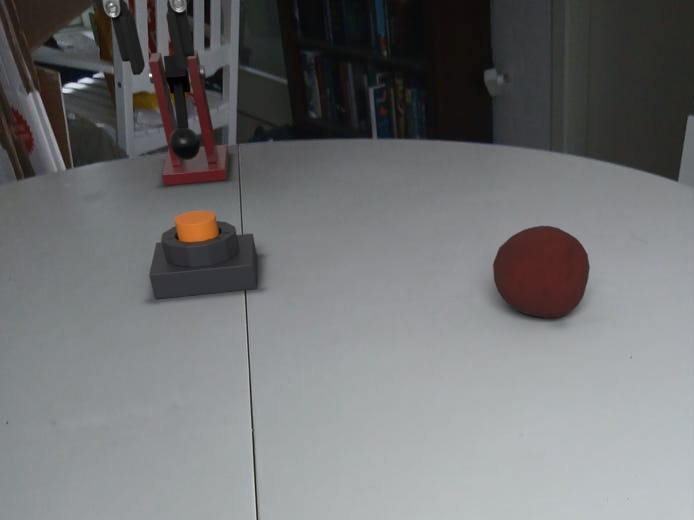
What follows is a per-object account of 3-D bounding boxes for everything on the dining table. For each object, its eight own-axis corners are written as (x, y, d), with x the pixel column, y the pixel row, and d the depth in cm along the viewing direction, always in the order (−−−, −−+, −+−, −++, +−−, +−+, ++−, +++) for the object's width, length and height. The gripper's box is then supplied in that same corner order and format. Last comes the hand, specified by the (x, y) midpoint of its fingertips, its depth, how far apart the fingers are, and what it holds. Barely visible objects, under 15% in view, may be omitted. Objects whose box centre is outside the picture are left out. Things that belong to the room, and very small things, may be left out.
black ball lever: (204, 164, 109) (197, 144, 106) (174, 167, 109) (167, 146, 105) (193, 73, 111) (187, 50, 108) (165, 76, 111) (157, 53, 108)
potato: (528, 284, 87) (528, 202, 82) (605, 309, 83) (609, 224, 78) (471, 312, 83) (467, 227, 79) (548, 339, 79) (549, 251, 74)
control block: (155, 299, 88) (143, 254, 85) (161, 266, 94) (151, 222, 91) (257, 288, 89) (248, 244, 86) (257, 256, 95) (249, 213, 92)
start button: (177, 246, 87) (172, 226, 86) (180, 232, 90) (175, 212, 89) (218, 242, 88) (214, 222, 86) (220, 228, 90) (215, 208, 89)
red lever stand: (226, 180, 113) (203, 63, 105) (164, 185, 112) (136, 68, 104) (228, 154, 120) (207, 43, 112) (170, 160, 119) (144, 48, 112)
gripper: (215, -239, 71) (262, 51, 83) (-18, -227, 70) (65, 67, 82) (212, -240, 66) (263, 71, 78) (-42, -227, 64) (50, 88, 76)
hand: (161, 66), depth 80 cm, fingers open, 3 cm apart
